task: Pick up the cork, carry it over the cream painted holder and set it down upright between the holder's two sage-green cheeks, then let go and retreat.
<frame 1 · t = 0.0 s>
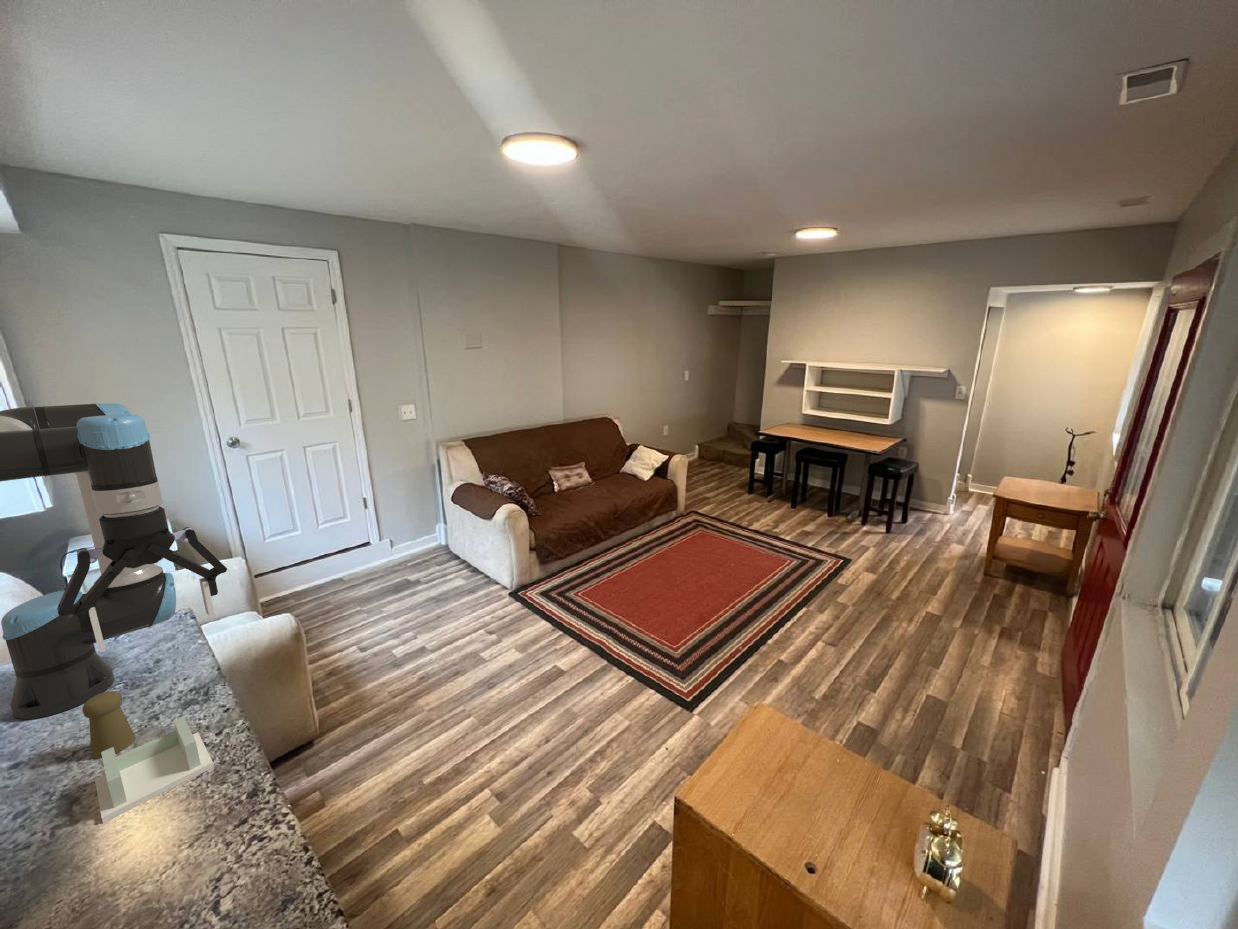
hand: (159, 629, 81), 28 cm above the countertop, fingers open, 13 cm apart
cork: (114, 747, 93), on the countertop
holder: (156, 775, 86), on the countertop
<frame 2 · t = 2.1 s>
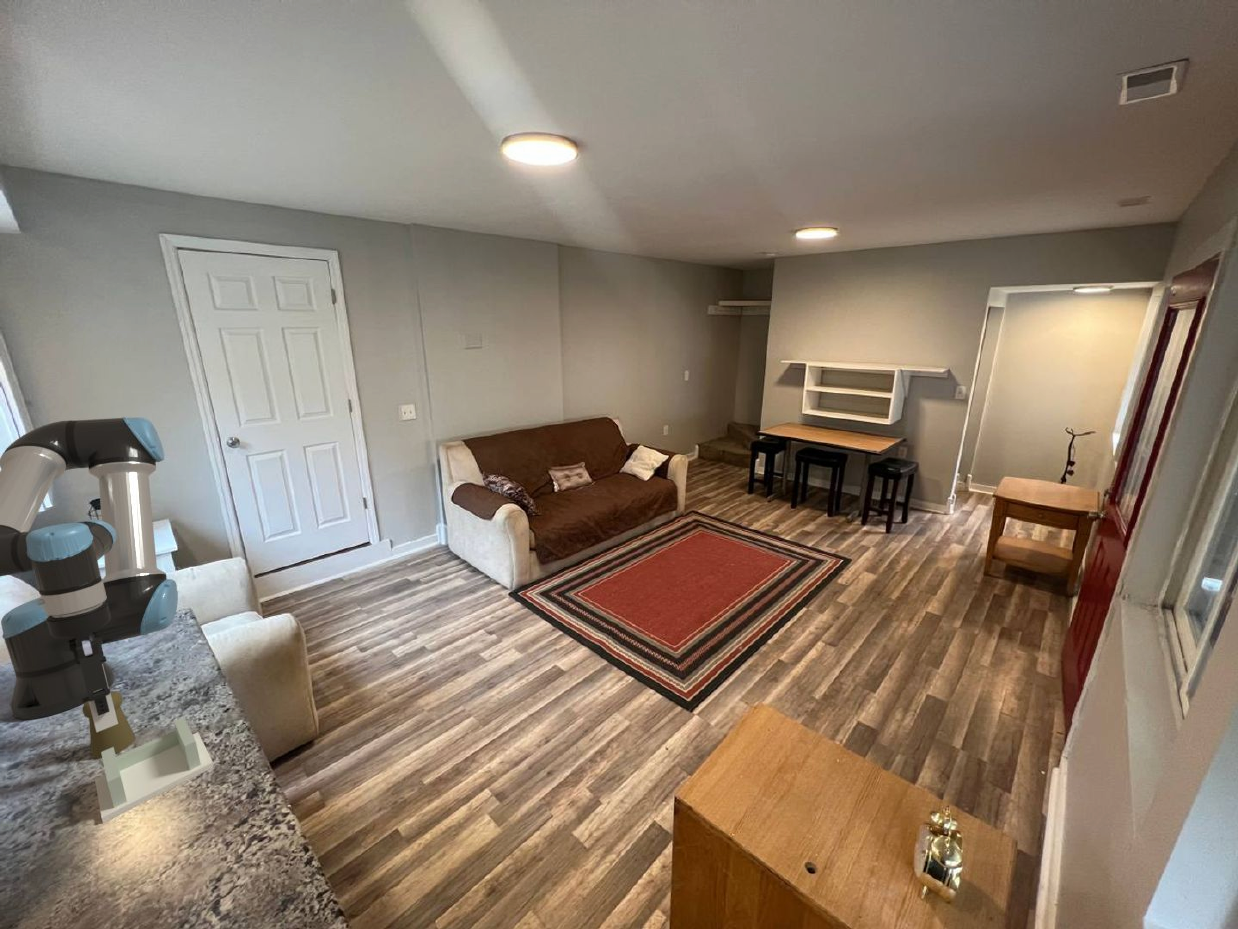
hand: (103, 711, 91), 8 cm above the countertop, fingers open, 13 cm apart
nothing on the countertop moved.
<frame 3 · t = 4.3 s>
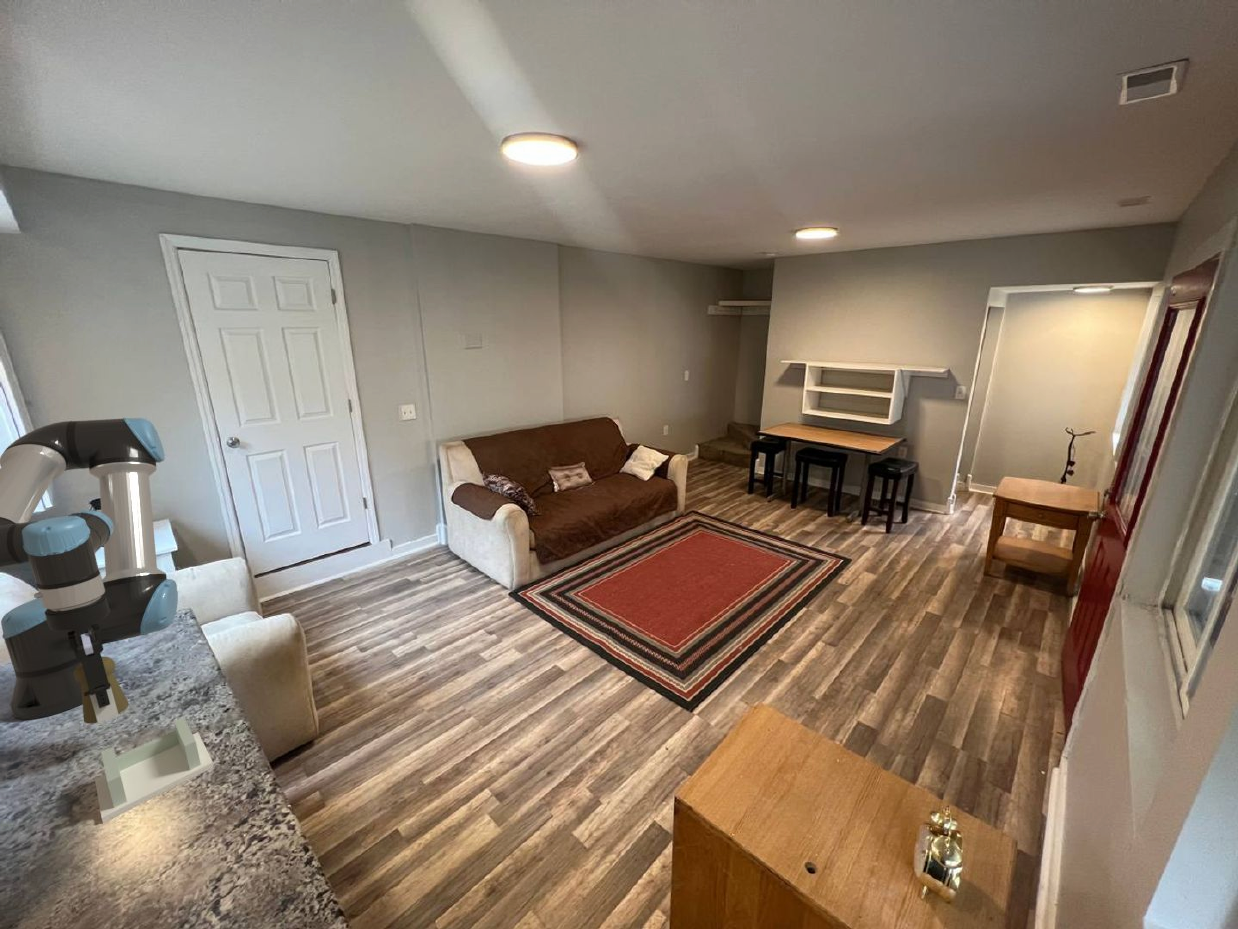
hand: (106, 710, 92), 8 cm above the countertop, fingers closed on cork, 6 cm apart
cork: (107, 712, 92), point 7 cm above the countertop, touching gripper
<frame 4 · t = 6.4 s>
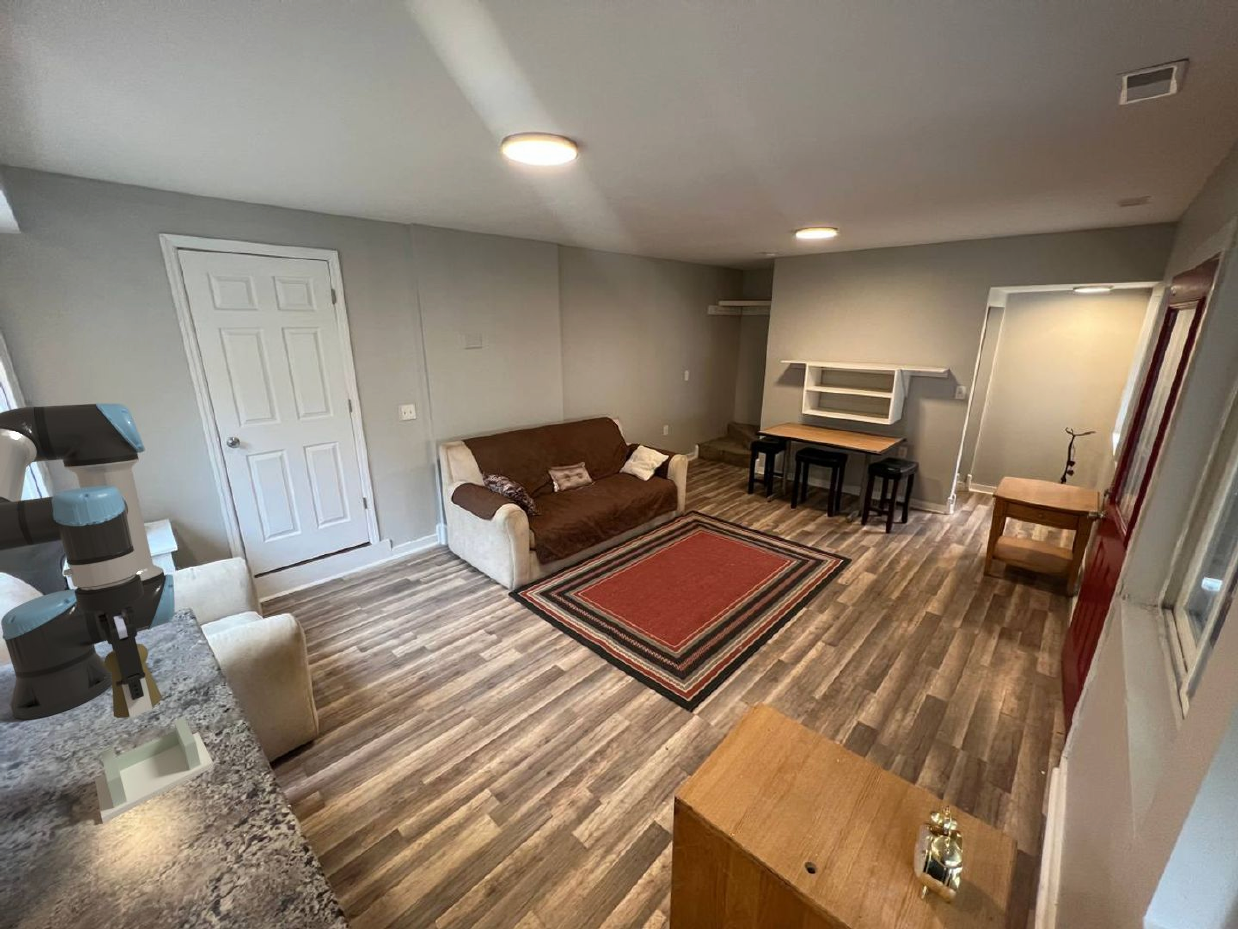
hand: (138, 704, 83), 15 cm above the countertop, fingers closed on cork, 6 cm apart
cork: (138, 706, 83), point 14 cm above the countertop, touching gripper
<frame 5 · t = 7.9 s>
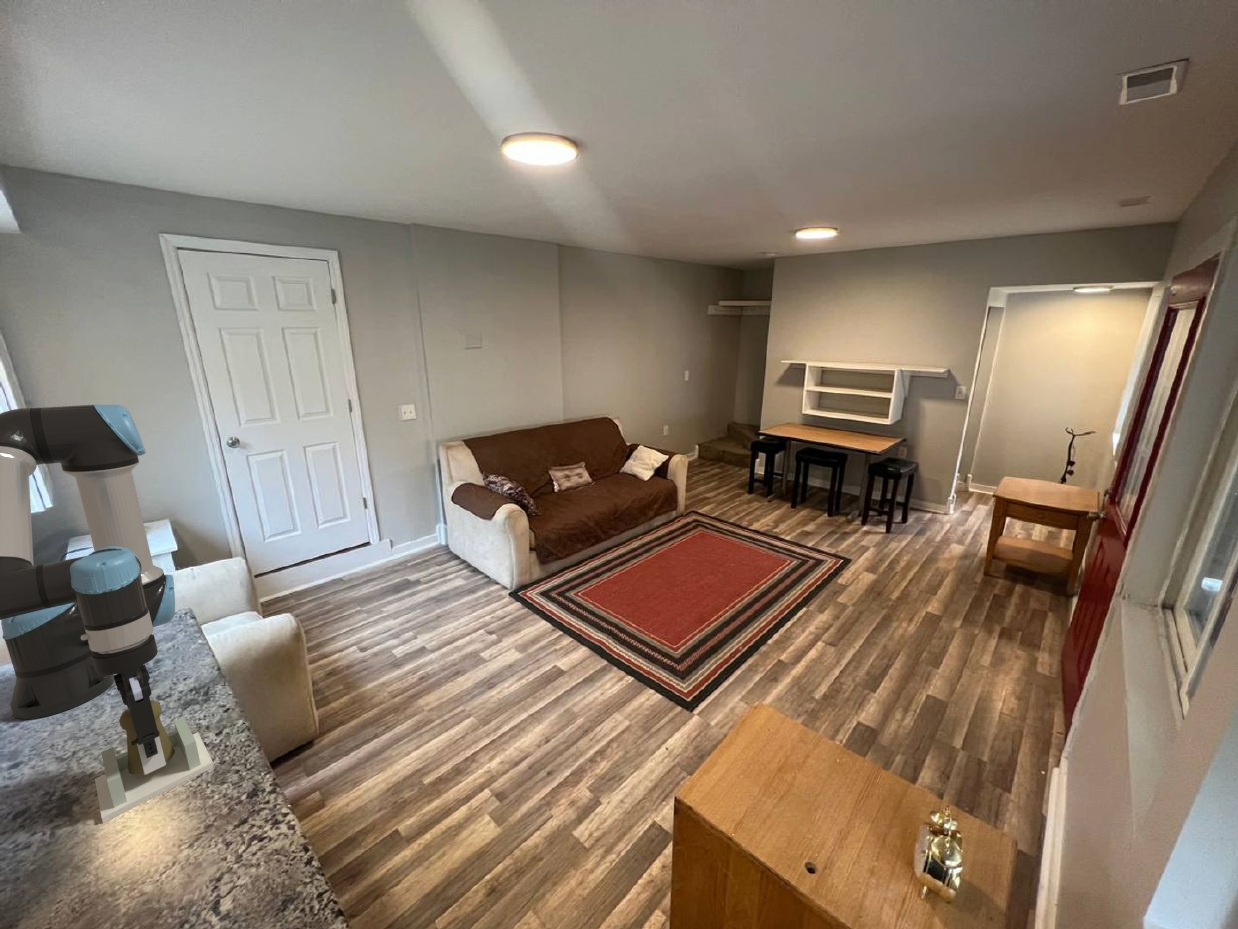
hand: (152, 759, 85), 3 cm above the countertop, fingers closed on cork, 6 cm apart
cork: (152, 761, 85), point 3 cm above the countertop, touching gripper
when the fingers open (3 cm above the countertop, at t = 8.7 s): cork drops 1 cm, resting on holder.
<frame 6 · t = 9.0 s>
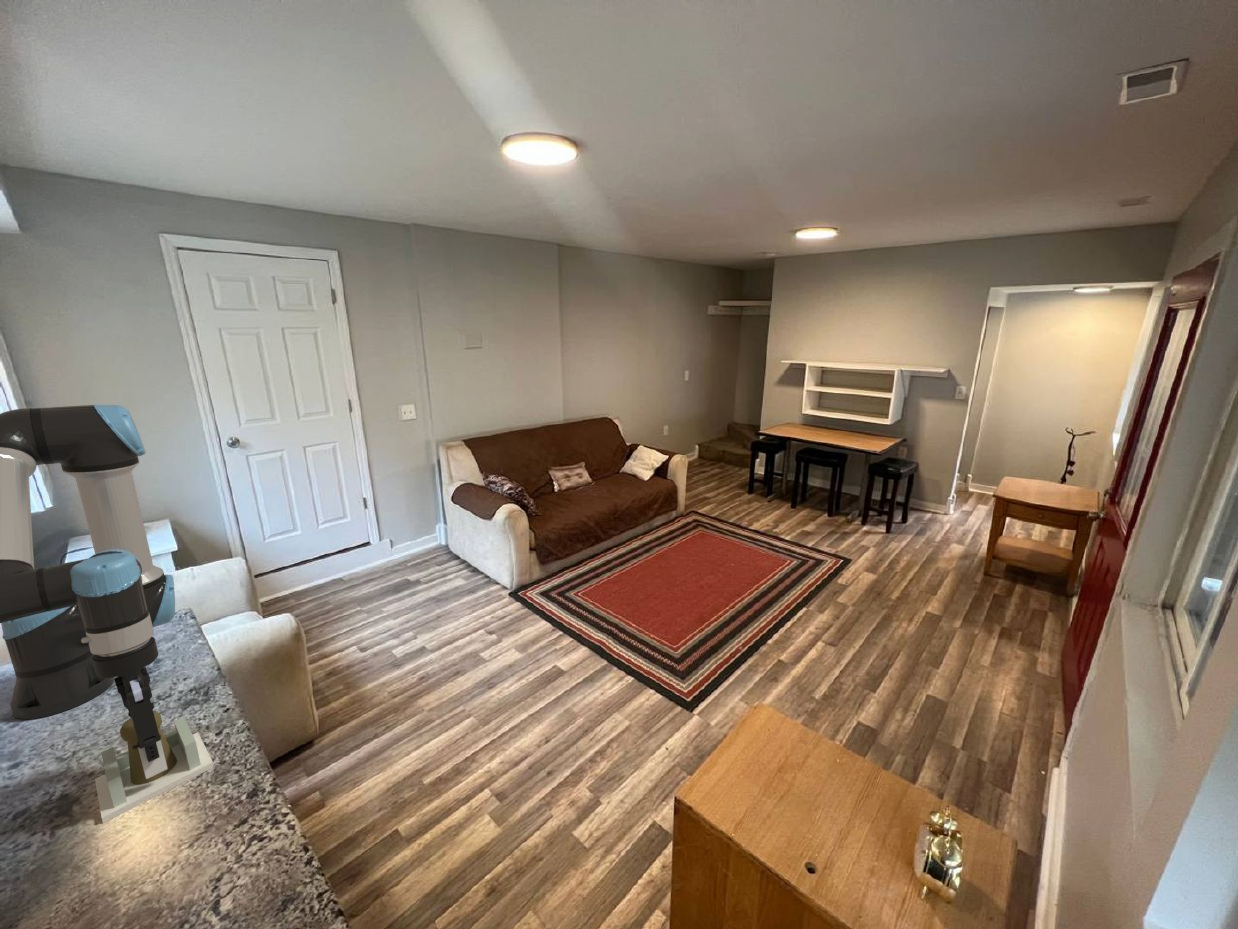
hand: (152, 759, 85), 3 cm above the countertop, fingers open, 9 cm apart
cork: (154, 771, 85), point 1 cm above the countertop, touching holder
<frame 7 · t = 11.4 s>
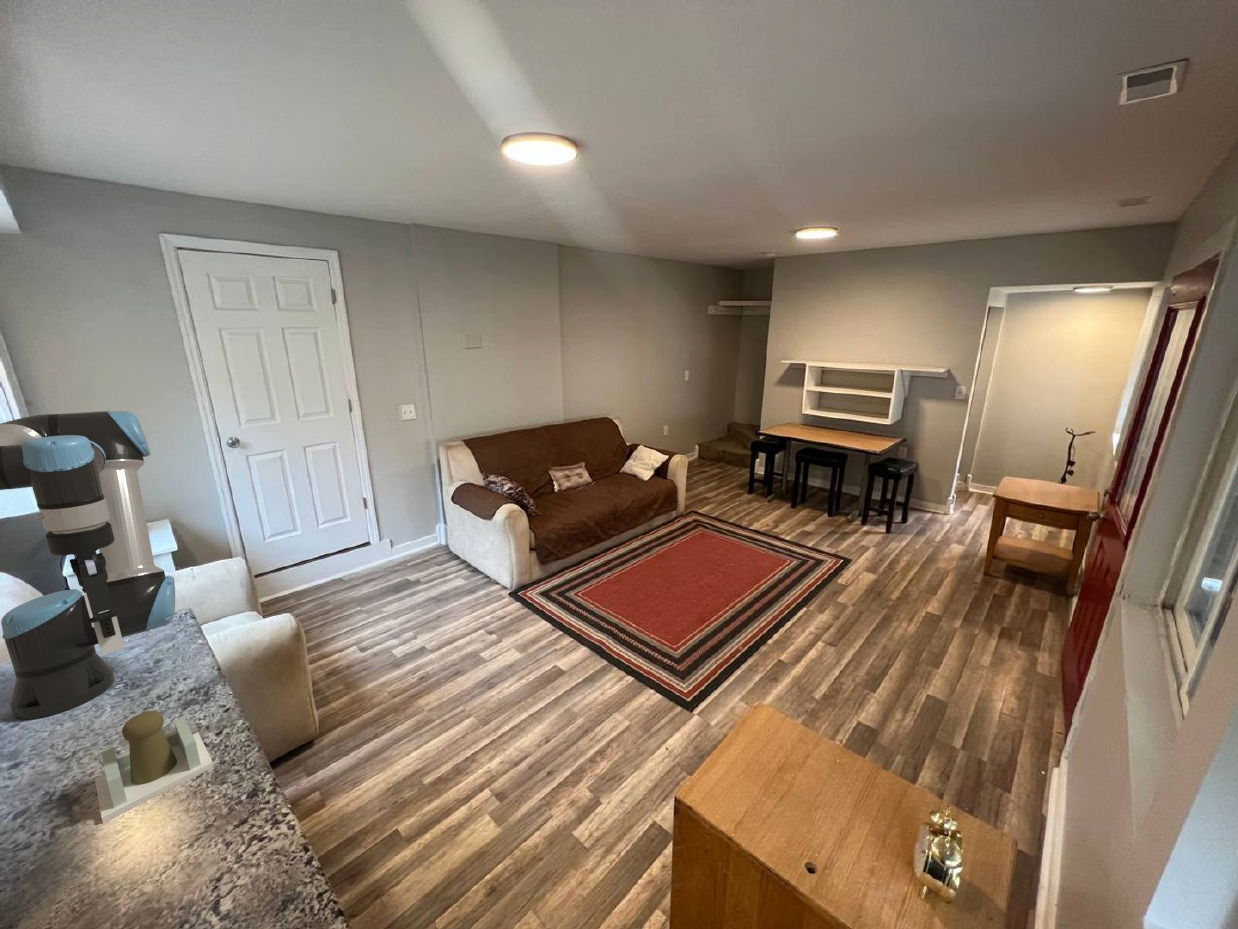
hand: (107, 637, 86), 24 cm above the countertop, fingers open, 13 cm apart
nothing on the countertop moved.
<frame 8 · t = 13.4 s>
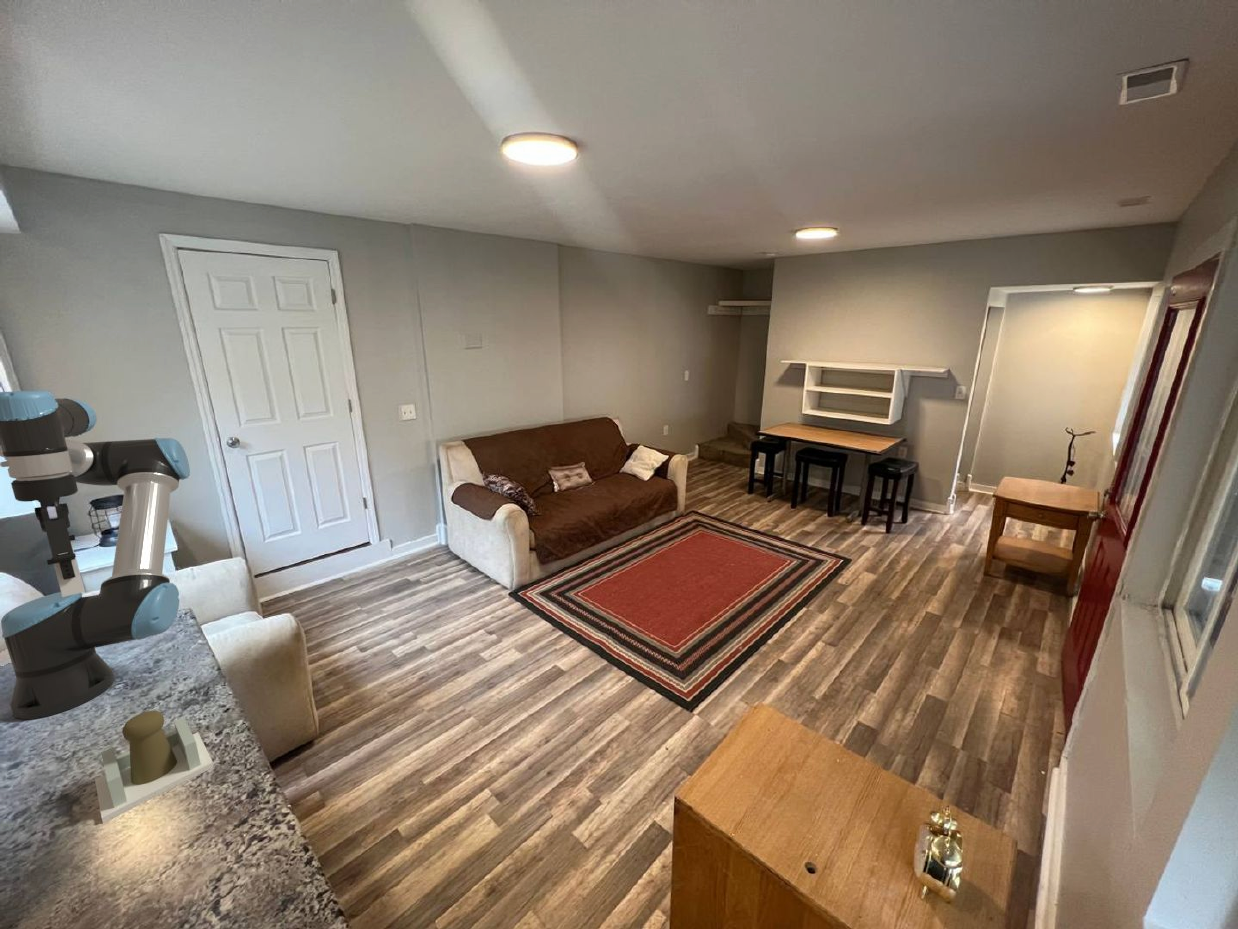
hand: (71, 584, 91), 32 cm above the countertop, fingers open, 13 cm apart
nothing on the countertop moved.
at the end: cork 0.0 cm off-centre on the holder, point 0.8 cm above the holder's base; cork tilted 0°; the gripper is holding nothing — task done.
